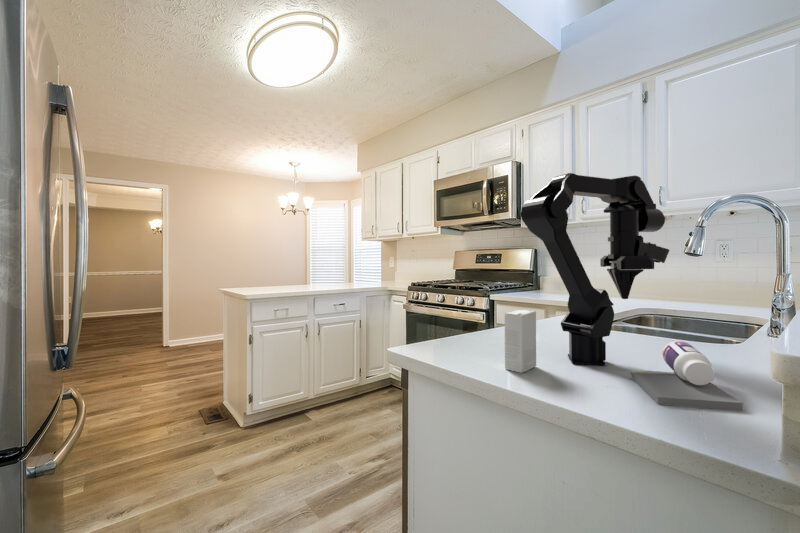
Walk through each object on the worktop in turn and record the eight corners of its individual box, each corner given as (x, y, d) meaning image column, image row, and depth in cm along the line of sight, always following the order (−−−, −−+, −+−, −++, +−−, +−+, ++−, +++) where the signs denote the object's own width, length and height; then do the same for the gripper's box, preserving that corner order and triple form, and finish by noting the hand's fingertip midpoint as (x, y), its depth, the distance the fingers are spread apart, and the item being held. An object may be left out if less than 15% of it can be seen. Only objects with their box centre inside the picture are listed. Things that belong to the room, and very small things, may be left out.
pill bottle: (673, 372, 71) (693, 395, 62) (655, 349, 72) (672, 368, 63) (702, 358, 69) (727, 379, 60) (683, 335, 70) (705, 352, 61)
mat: (658, 404, 58) (658, 395, 58) (631, 377, 71) (631, 369, 71) (742, 410, 55) (742, 400, 55) (698, 381, 68) (698, 373, 68)
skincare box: (518, 363, 82) (517, 308, 82) (537, 367, 79) (536, 310, 78) (503, 369, 78) (502, 312, 77) (523, 374, 75) (522, 314, 74)
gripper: (683, 228, 75) (683, 304, 75) (648, 232, 93) (649, 294, 93) (621, 230, 78) (622, 304, 78) (599, 234, 96) (600, 294, 96)
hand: (624, 298), depth 87 cm, fingers closed
